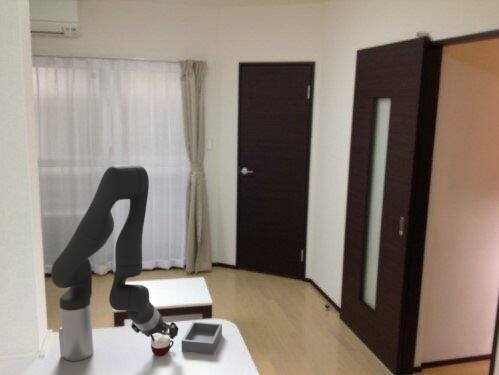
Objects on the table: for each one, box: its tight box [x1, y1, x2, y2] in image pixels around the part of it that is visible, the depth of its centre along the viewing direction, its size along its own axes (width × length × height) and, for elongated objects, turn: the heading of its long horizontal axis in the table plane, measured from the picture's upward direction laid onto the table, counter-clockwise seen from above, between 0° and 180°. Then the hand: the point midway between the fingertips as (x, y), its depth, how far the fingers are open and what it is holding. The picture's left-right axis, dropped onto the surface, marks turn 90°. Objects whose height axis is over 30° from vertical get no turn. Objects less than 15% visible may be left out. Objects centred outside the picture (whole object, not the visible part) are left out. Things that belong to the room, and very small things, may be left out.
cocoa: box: [150, 333, 174, 357], centre depth 154 cm, size 10×6×12 cm, turn 102°
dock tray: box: [181, 321, 223, 356], centre depth 161 cm, size 11×14×4 cm
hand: (161, 334), depth 155 cm, fingers open, 7 cm apart
